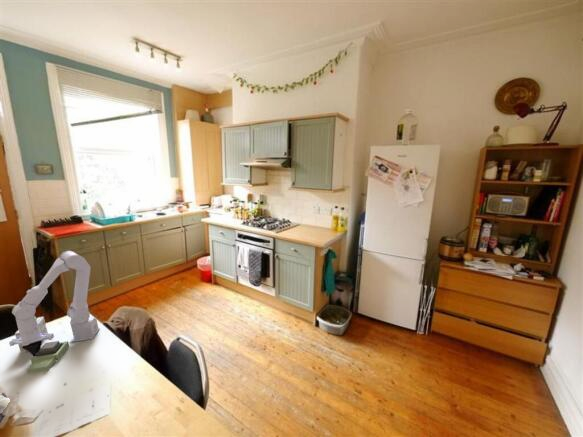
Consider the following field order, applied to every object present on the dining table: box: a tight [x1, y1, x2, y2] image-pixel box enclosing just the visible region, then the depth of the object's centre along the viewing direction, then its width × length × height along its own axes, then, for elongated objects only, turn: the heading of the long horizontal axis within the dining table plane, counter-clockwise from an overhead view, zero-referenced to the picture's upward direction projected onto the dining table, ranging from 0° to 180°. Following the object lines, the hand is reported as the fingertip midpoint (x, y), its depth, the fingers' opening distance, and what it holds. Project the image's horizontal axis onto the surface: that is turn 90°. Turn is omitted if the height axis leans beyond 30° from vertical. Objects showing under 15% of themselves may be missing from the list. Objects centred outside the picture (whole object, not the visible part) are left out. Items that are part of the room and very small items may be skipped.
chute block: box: [36, 340, 62, 357], centre depth 112 cm, size 7×5×6 cm
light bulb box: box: [14, 316, 49, 353], centre depth 118 cm, size 11×7×11 cm, turn 26°
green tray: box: [26, 340, 70, 375], centre depth 110 cm, size 10×14×3 cm
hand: (36, 355), depth 111 cm, fingers closed
